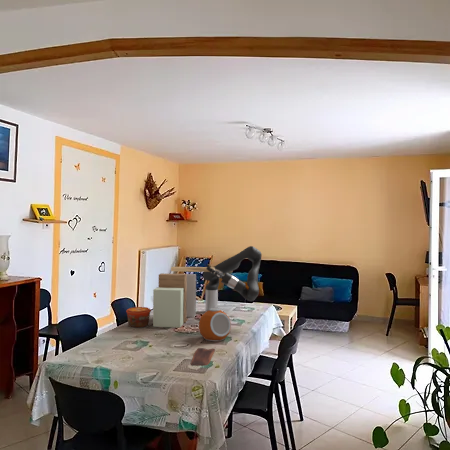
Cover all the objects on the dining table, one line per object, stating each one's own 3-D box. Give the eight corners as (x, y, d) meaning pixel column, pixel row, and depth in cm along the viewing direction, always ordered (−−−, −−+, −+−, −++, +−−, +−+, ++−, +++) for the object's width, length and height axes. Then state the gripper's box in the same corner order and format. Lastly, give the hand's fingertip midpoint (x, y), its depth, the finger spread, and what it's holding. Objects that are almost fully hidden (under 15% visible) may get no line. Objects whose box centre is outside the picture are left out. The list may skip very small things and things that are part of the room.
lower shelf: (156, 323, 286) (157, 287, 285) (183, 324, 284) (183, 288, 283) (153, 326, 277) (153, 289, 276) (180, 327, 275) (180, 290, 274)
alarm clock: (208, 344, 239) (208, 313, 239) (193, 336, 254) (193, 307, 253) (236, 339, 249) (236, 309, 249) (220, 332, 264) (221, 304, 264)
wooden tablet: (208, 364, 203) (188, 361, 204) (207, 369, 203) (187, 365, 204) (216, 348, 229) (197, 345, 231) (215, 352, 230) (197, 349, 231)
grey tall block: (195, 315, 309) (196, 274, 309) (194, 317, 303) (194, 275, 303) (176, 314, 310) (176, 273, 310) (174, 316, 305) (175, 274, 304)
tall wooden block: (159, 318, 298) (160, 273, 297) (188, 319, 296) (188, 273, 295) (156, 322, 289) (156, 274, 288) (185, 323, 287) (185, 275, 286)
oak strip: (172, 270, 281) (172, 266, 281) (214, 271, 279) (214, 267, 279) (171, 271, 277) (171, 267, 277) (213, 271, 275) (213, 268, 275)
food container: (120, 326, 276) (120, 310, 276) (136, 321, 290) (136, 305, 290) (140, 329, 268) (140, 312, 268) (155, 324, 282) (155, 308, 282)
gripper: (233, 274, 283) (211, 261, 284) (232, 277, 268) (208, 263, 270) (228, 284, 283) (206, 270, 284) (226, 287, 269) (202, 273, 270)
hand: (207, 267), depth 277 cm, fingers closed on oak strip, 4 cm apart
